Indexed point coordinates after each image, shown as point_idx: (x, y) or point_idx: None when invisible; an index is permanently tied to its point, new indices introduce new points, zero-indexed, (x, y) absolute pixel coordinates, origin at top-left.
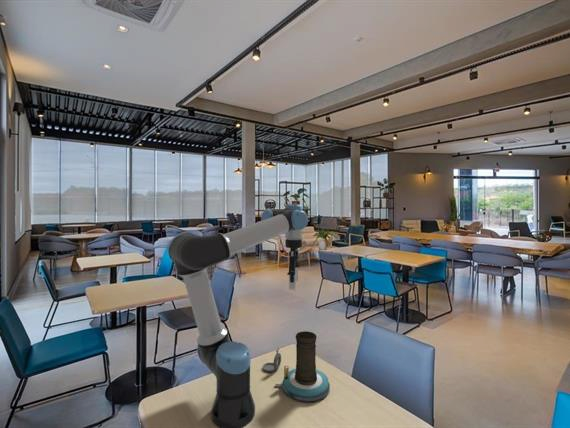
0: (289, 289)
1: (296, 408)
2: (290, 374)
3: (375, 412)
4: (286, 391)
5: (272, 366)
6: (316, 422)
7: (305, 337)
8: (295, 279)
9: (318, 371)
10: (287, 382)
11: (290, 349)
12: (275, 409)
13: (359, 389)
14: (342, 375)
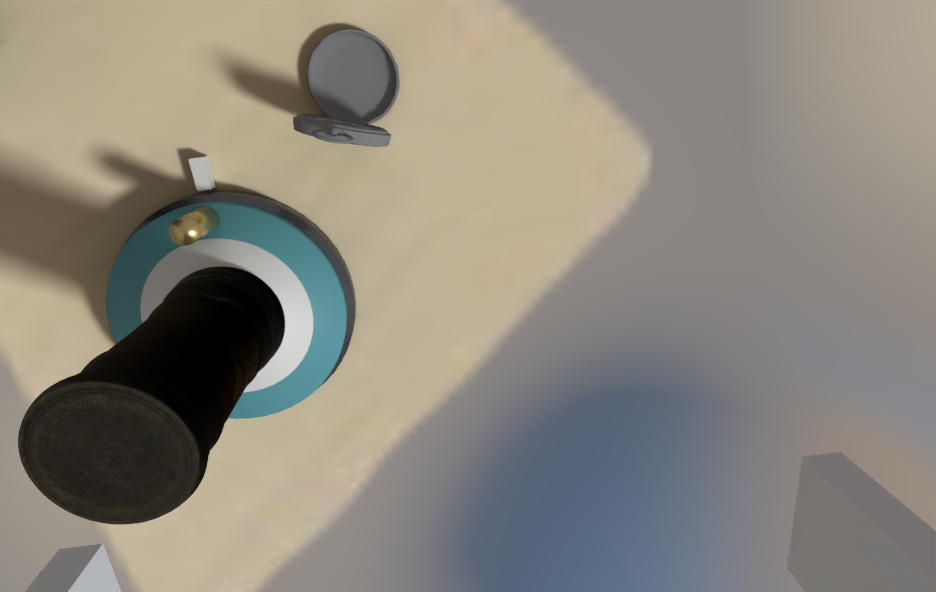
0: (60, 557)
1: (71, 291)
2: (246, 233)
3: (181, 557)
4: (136, 232)
5: (376, 88)
6: (25, 380)
7: (66, 461)
8: (826, 556)
9: (324, 365)
10: (164, 234)
11: (604, 151)
12: (19, 202)
13: (307, 506)
14: (393, 441)
